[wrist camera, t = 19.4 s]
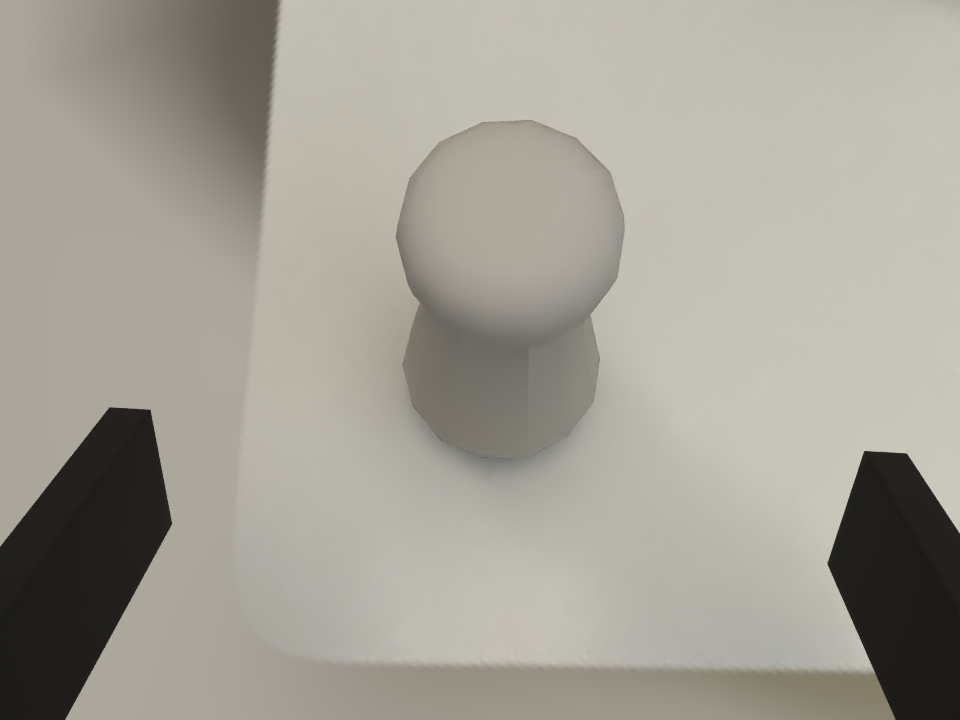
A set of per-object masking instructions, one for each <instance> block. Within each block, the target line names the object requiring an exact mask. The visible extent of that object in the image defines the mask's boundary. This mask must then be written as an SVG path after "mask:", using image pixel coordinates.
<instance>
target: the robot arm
mask: <svg viewBox="0 0 960 720" xmlns="http://www.w3.org/2000/svg"><path fill="white" fill-rule="evenodd" d="M171 525H172V521H171V516H170V511H169V505H168V500H167V495H166V489H165V484H164V479H163V474H162V469H161V463H160V458H159V452H158V447H157V442H156V437H155V431H154V426H153V421H152V416H151V410H145V409H128V408H109V409H108V410H107V411H106V413H105V414H104V415H103V416H102V418H101V419H100V420H99V422H98V423H97V424H96V425H95V427H94V428H93V429H92V430H91V432H90V433H89V434H88V436H87V437H86V438H85V439H84V441H83V442H82V443H81V444H80V446H79V447H78V449H77V450H76V451H75V452H74V453H73V455H72V456H71V457H70V458H69V460H68V461H67V462H66V464H65V465H64V466H63V467H62V469H61V470H60V472H59V473H58V474H57V475H56V476H55V478H54V479H53V480H52V481H51V483H50V484H49V485H48V487H47V488H46V489H45V490H44V492H43V493H42V494H41V496H40V497H39V498H38V499H37V501H36V502H35V503H34V504H33V506H32V507H31V508H30V510H29V511H28V512H27V513H26V515H25V516H24V517H23V518H22V520H21V521H20V522H19V524H18V525H17V526H16V527H15V529H14V530H13V531H12V532H11V534H10V535H9V536H8V538H7V539H6V540H5V541H4V543H3V544H2V545H1V547H0V720H65V719H66V717H67V715H68V713H69V712H70V710H71V708H72V706H73V704H74V702H75V701H76V699H77V697H78V695H79V693H80V692H81V690H82V687H83V686H84V684H85V682H86V680H87V679H88V676H89V675H90V673H91V671H92V670H93V668H94V666H95V664H96V662H97V660H98V659H99V657H100V655H101V653H102V651H103V649H104V648H105V646H106V644H107V642H108V640H109V638H110V636H111V635H112V633H113V631H114V629H115V627H116V626H117V624H118V622H119V620H120V618H121V616H122V614H123V613H124V611H125V609H126V607H127V606H128V604H129V602H130V600H131V598H132V596H133V595H134V593H135V591H136V589H137V587H138V585H139V584H140V582H141V580H142V578H143V576H144V574H145V573H146V571H147V569H148V567H149V565H150V563H151V562H152V560H153V558H154V556H155V554H156V553H157V551H158V549H159V547H160V545H161V543H162V541H163V540H164V538H165V536H166V534H167V532H168V531H169V528H170V527H171ZM828 566H829V569H830V571H831V573H832V576H833V578H834V580H835V582H836V585H837V587H838V589H839V591H840V594H841V596H842V598H843V601H844V603H845V605H846V607H847V610H848V612H849V614H850V617H851V619H852V621H853V623H854V626H855V628H856V630H857V633H858V635H859V637H860V639H861V642H862V644H863V646H864V649H865V651H866V653H867V655H868V658H869V660H870V662H871V664H872V667H873V669H874V671H875V674H876V676H877V678H878V680H879V683H880V685H881V687H882V690H883V692H884V694H885V696H886V698H887V701H888V703H889V705H890V708H891V710H892V712H893V714H894V716H895V719H896V720H960V533H959V532H958V530H957V529H956V527H955V526H954V524H953V523H952V521H951V520H950V518H949V517H948V515H947V514H946V512H945V511H944V509H943V508H942V506H941V505H940V503H939V501H938V500H937V498H936V497H935V495H934V494H933V492H932V491H931V489H930V488H929V486H928V485H927V483H926V482H925V480H924V479H923V477H922V476H921V474H920V473H919V471H918V470H917V468H916V467H915V465H914V464H913V462H912V461H911V459H910V458H909V456H908V455H907V454H906V453H889V452H871V451H864V454H863V457H862V460H861V463H860V466H859V469H858V472H857V475H856V478H855V481H854V484H853V487H852V490H851V493H850V496H849V499H848V503H847V506H846V509H845V512H844V515H843V518H842V521H841V524H840V527H839V530H838V533H837V536H836V539H835V542H834V545H833V548H832V551H831V554H830V557H829V561H828Z"/></svg>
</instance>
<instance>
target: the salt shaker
mask: <svg viewBox="0 0 960 720" xmlns="http://www.w3.org/2000/svg"><path fill="white" fill-rule="evenodd" d="M623 237H624V214H623V211H622V208H621V205H620V202H619V199H618V195H617V192H616V189H615V186H614V183H613V180H612V177H611V173H610V171H609V170H608V169H607V168H606V167H605V166H604V165H603V164H602V163H601V162H600V161H599V160H598V159H597V158H596V157H595V156H594V155H593V154H592V153H591V152H590V151H589V150H588V149H587V148H586V147H585V146H584V145H583V144H582V143H581V142H580V141H579V140H578V139H577V138H575V137H572V136H570V135H567V134H565V133H562V132H560V131H557V130H555V129H552V128H550V127H547V126H545V125H542V124H540V123H537V122H535V121H532V120H524V121H500V122H482V123H480V124H478V125H476V126H473V127H471V128H469V129H467V130H465V131H462V132H460V133H458V134H456V135H454V136H451V137H449V138H447V139H445V140H443V141H440V142H439V143H438V144H437V145H436V147H435V148H434V149H433V150H432V151H431V153H430V154H429V155H428V156H427V158H426V159H425V160H424V161H423V162H422V164H421V165H420V166H419V167H418V168H417V170H416V171H415V172H414V173H413V175H412V176H411V177H410V178H409V182H408V186H407V190H406V194H405V198H404V202H403V206H402V210H401V214H400V218H399V222H398V227H397V233H396V240H397V244H398V248H399V252H400V255H401V259H402V263H403V267H404V270H405V274H406V278H407V282H408V285H409V287H410V289H411V291H412V293H413V295H414V296H415V297H416V298H417V299H418V301H419V302H420V305H419V308H418V311H417V313H416V316H415V319H414V321H413V324H412V328H411V332H410V337H409V341H408V345H407V349H406V353H405V357H404V361H403V368H404V372H405V376H406V380H407V383H408V387H409V391H410V395H411V399H412V402H413V406H414V407H415V409H416V410H417V411H418V412H419V414H420V415H421V416H422V417H423V419H424V420H425V421H426V422H427V423H428V425H429V426H430V427H431V428H432V430H433V431H434V432H435V433H436V435H437V436H438V437H439V438H440V440H441V441H444V442H446V443H449V444H451V445H453V446H456V447H458V448H461V449H463V450H465V451H468V452H470V453H473V454H475V455H477V456H480V457H482V458H505V457H529V456H531V455H533V454H535V453H537V452H538V451H540V450H542V449H544V448H546V447H548V446H549V445H551V444H553V443H555V442H557V441H558V440H560V439H562V438H564V437H566V436H567V435H568V434H569V433H570V431H571V430H572V429H573V427H574V426H575V425H576V423H577V422H578V421H579V420H580V418H581V417H582V416H583V414H584V413H585V412H586V410H587V409H588V408H589V406H590V405H591V404H592V402H593V401H594V394H595V387H596V381H597V374H598V368H599V361H600V357H599V352H598V348H597V343H596V339H595V334H594V330H593V325H592V321H591V317H590V314H591V313H592V312H593V310H594V309H595V308H596V306H597V305H598V304H599V303H600V301H601V300H602V299H603V297H604V296H605V295H606V293H607V292H608V291H609V290H610V288H611V287H612V285H613V284H614V282H615V280H616V279H617V276H618V270H619V263H620V257H621V250H622V243H623Z"/></svg>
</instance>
